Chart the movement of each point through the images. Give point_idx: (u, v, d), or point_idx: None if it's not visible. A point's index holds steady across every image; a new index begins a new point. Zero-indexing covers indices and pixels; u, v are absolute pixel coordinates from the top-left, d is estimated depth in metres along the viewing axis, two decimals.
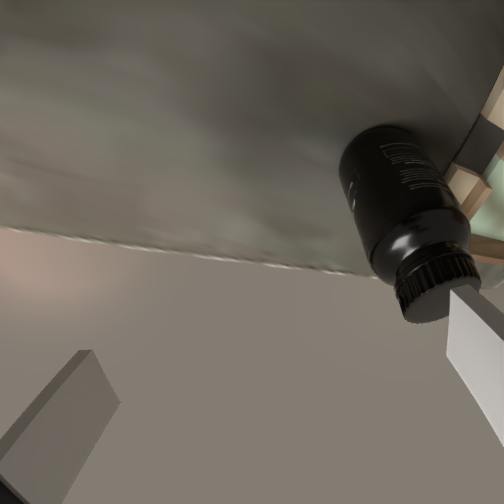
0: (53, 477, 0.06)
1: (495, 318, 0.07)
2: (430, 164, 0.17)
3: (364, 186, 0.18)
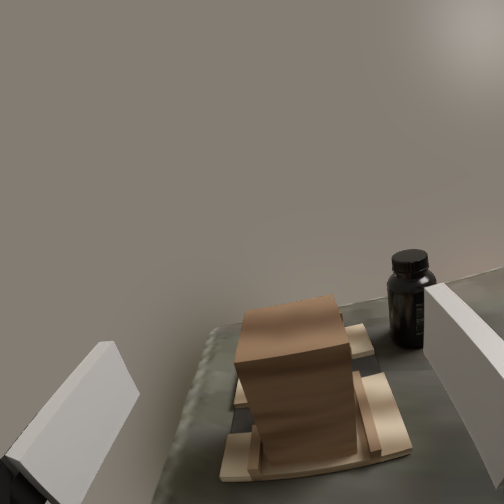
0: (76, 469, 0.07)
1: (465, 316, 0.07)
2: (418, 321, 0.35)
3: None
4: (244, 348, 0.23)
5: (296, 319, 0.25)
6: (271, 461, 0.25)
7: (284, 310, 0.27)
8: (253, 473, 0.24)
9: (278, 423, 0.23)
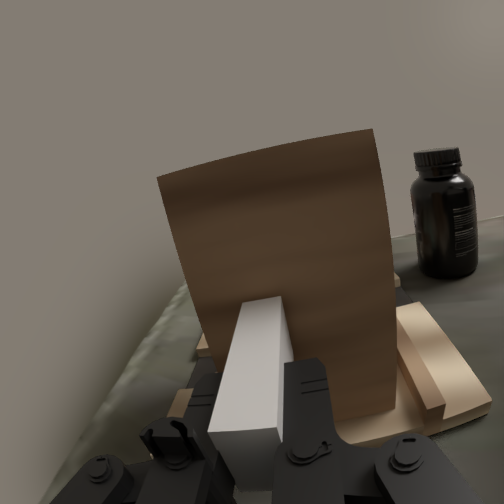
0: None
1: (268, 328, 0.10)
2: (457, 235, 0.24)
3: None
4: None
5: None
6: None
7: None
8: None
9: None
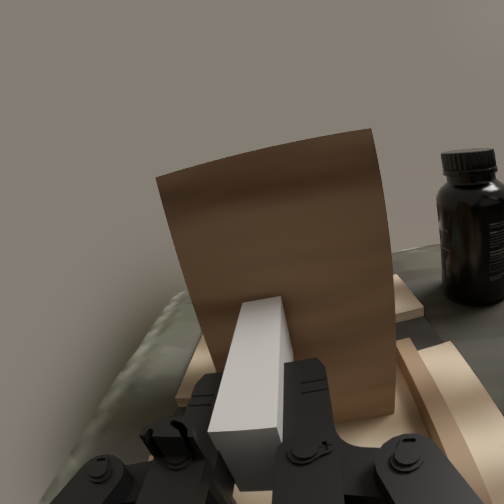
0: None
1: (268, 328, 0.10)
2: (493, 255, 0.19)
3: None
4: None
5: None
6: None
7: None
8: None
9: None
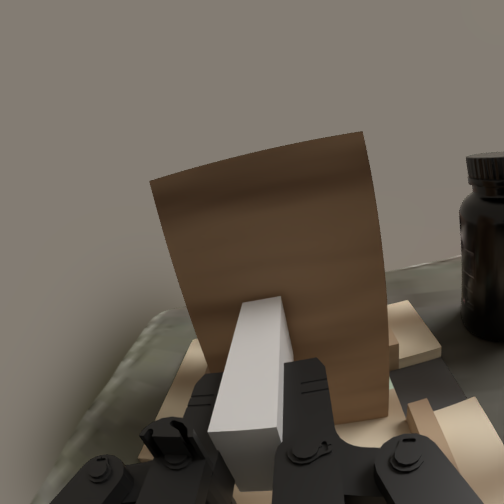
0: None
1: (268, 328, 0.10)
2: None
3: None
4: None
5: None
6: None
7: None
8: None
9: None
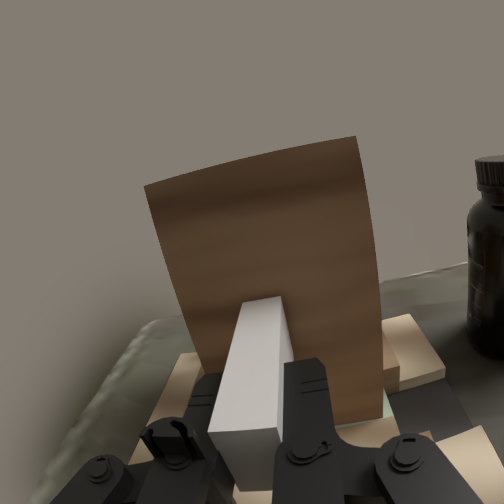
0: None
1: (268, 328, 0.10)
2: None
3: None
4: None
5: None
6: None
7: None
8: None
9: (231, 334, 0.13)
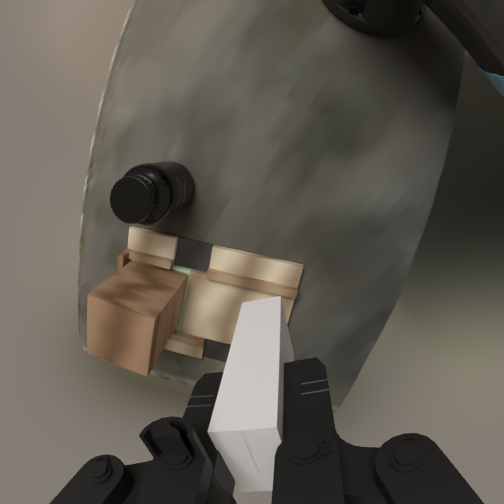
0: None
1: (268, 328, 0.10)
2: (183, 199, 0.37)
3: (167, 164, 0.35)
4: (134, 367, 0.33)
5: (112, 331, 0.32)
6: (177, 324, 0.45)
7: (95, 332, 0.32)
8: None
9: (167, 334, 0.39)
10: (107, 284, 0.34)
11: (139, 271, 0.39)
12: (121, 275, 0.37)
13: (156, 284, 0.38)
